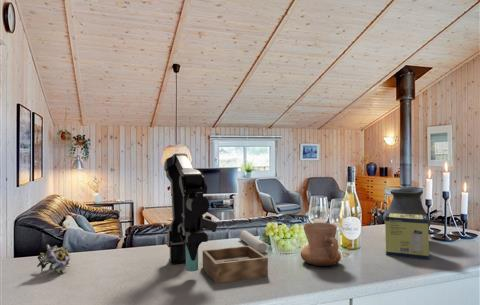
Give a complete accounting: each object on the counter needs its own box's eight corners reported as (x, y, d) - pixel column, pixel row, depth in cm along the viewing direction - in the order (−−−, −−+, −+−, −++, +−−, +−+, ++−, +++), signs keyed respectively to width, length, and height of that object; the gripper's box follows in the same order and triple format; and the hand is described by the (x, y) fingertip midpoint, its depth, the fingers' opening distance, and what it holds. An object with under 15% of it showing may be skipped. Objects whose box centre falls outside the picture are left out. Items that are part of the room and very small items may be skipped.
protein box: (386, 249, 145) (385, 212, 145) (428, 253, 138) (427, 214, 138) (385, 255, 135) (384, 216, 135) (429, 260, 128) (429, 219, 129)
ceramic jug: (292, 259, 131) (291, 222, 131) (324, 255, 136) (324, 219, 136) (317, 273, 114) (317, 231, 114) (353, 268, 119) (352, 228, 119)
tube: (270, 243, 140) (250, 231, 163) (259, 240, 138) (240, 228, 162) (267, 256, 139) (247, 241, 163) (255, 253, 137) (237, 239, 161)
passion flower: (62, 289, 116) (59, 267, 110) (30, 284, 115) (24, 261, 109) (77, 262, 126) (74, 240, 119) (47, 257, 125) (43, 235, 118)
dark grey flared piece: (375, 240, 160) (374, 187, 160) (394, 233, 175) (393, 184, 175) (422, 248, 145) (420, 190, 145) (438, 239, 160) (437, 187, 160)
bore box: (215, 283, 106) (215, 264, 106) (202, 267, 122) (202, 250, 122) (267, 276, 112) (267, 257, 112) (249, 261, 128) (248, 245, 128)
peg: (187, 272, 108) (186, 240, 108) (184, 268, 112) (184, 237, 112) (199, 270, 109) (199, 239, 109) (196, 266, 113) (196, 236, 113)
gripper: (223, 213, 105) (224, 264, 104) (208, 205, 122) (208, 249, 122) (188, 215, 101) (188, 268, 101) (177, 207, 118) (177, 252, 118)
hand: (192, 258), depth 110 cm, fingers closed on peg, 4 cm apart
